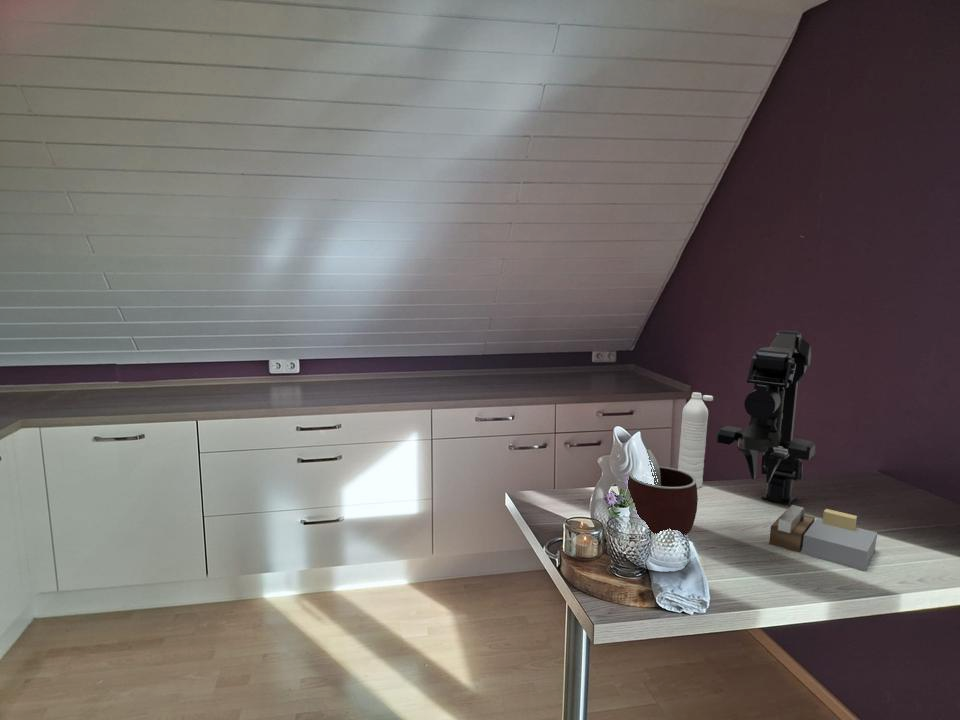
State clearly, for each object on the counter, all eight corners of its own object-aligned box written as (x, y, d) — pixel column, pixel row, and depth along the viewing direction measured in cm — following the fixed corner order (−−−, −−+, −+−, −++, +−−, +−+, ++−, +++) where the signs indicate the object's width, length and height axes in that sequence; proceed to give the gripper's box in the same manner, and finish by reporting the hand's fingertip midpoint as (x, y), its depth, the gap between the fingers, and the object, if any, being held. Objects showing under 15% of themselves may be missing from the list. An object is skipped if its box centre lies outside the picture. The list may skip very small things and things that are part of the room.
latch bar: (789, 514, 147) (790, 503, 147) (805, 517, 145) (806, 507, 145) (775, 529, 138) (777, 518, 138) (792, 533, 136) (793, 522, 136)
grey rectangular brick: (815, 535, 146) (818, 506, 145) (874, 550, 139) (878, 520, 138) (801, 553, 137) (805, 523, 136) (864, 570, 130) (869, 539, 129)
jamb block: (784, 526, 150) (785, 510, 150) (812, 534, 147) (814, 517, 146) (768, 544, 141) (770, 526, 140) (799, 552, 137) (801, 534, 137)
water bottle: (671, 481, 178) (678, 390, 174) (691, 479, 181) (698, 389, 177) (692, 492, 170) (700, 397, 166) (713, 490, 173) (721, 396, 169)
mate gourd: (703, 574, 127) (712, 474, 124) (633, 575, 126) (640, 474, 122) (673, 539, 142) (680, 449, 139) (610, 540, 141) (616, 449, 138)
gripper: (710, 408, 139) (703, 479, 141) (806, 425, 127) (797, 502, 130) (727, 400, 147) (721, 467, 150) (819, 414, 136) (811, 487, 138)
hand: (760, 480), depth 142 cm, fingers open, 3 cm apart
